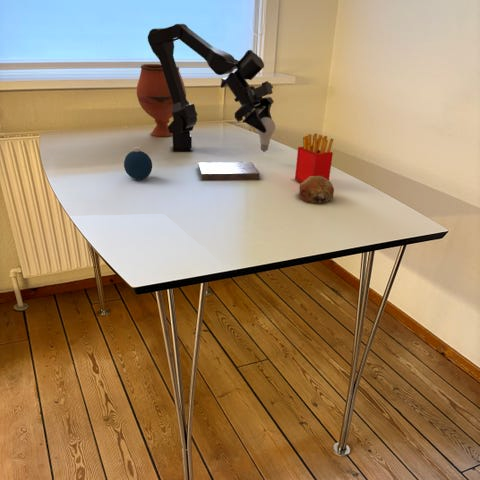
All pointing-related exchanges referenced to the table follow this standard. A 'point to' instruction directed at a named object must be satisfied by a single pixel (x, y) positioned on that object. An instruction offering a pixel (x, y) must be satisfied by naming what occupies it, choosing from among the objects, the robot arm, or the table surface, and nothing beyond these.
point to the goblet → (156, 97)
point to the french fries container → (313, 158)
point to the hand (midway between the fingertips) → (269, 130)
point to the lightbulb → (266, 133)
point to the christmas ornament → (138, 164)
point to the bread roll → (316, 190)
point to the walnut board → (228, 171)
